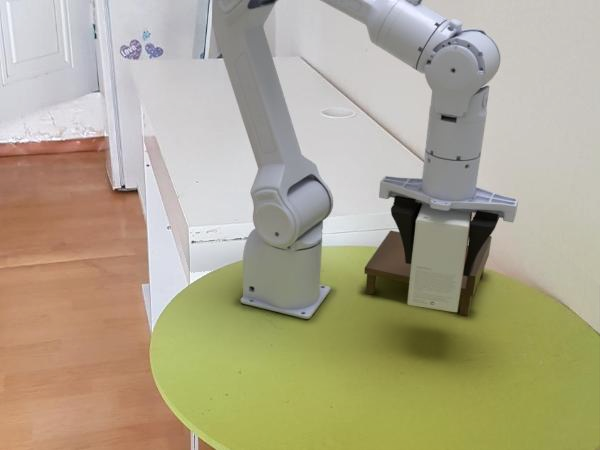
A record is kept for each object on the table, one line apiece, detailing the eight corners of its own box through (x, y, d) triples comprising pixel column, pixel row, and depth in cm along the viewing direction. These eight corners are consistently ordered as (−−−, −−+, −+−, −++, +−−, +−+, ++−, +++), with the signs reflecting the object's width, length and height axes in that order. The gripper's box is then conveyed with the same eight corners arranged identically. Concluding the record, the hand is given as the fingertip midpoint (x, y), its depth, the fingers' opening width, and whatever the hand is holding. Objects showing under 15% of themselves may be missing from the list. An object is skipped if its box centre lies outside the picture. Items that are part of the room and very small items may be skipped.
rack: (362, 293, 98) (365, 253, 96) (388, 255, 108) (391, 217, 106) (469, 318, 94) (475, 276, 91) (485, 275, 104) (491, 236, 101)
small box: (457, 314, 81) (469, 227, 77) (405, 305, 83) (415, 219, 78) (463, 279, 88) (475, 197, 84) (415, 272, 90) (424, 191, 85)
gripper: (374, 152, 77) (365, 267, 83) (518, 175, 72) (498, 297, 78) (393, 132, 83) (384, 241, 89) (528, 153, 78) (508, 267, 84)
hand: (438, 266), depth 84 cm, fingers closed on small box, 6 cm apart
